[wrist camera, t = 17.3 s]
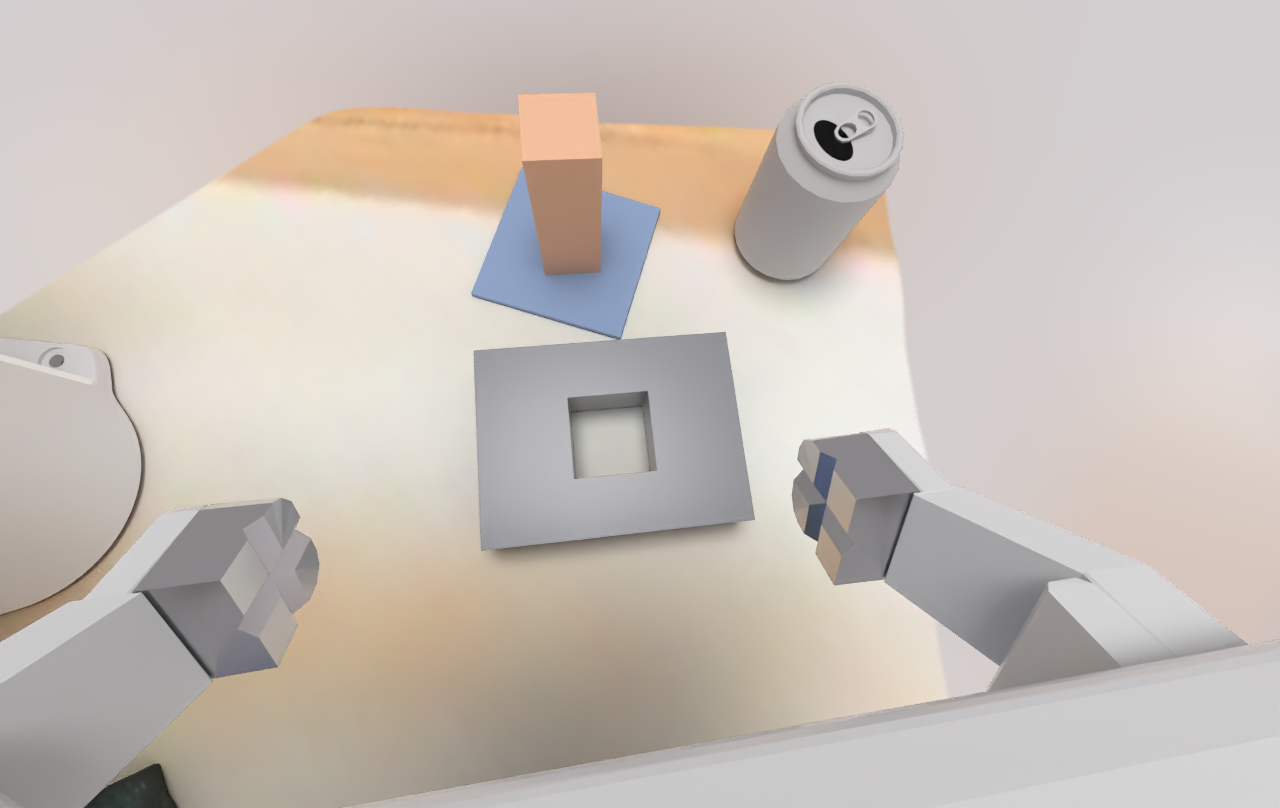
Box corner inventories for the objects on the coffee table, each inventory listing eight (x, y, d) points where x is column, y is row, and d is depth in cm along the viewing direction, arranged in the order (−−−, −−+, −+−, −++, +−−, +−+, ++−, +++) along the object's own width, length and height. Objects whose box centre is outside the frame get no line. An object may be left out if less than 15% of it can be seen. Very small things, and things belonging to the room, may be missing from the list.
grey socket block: (494, 548, 33) (481, 550, 29) (486, 370, 36) (473, 350, 32) (737, 521, 35) (754, 519, 31) (712, 352, 38) (725, 331, 34)
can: (712, 224, 40) (759, 100, 29) (788, 184, 42) (863, 50, 30) (768, 302, 39) (840, 205, 27) (844, 257, 40) (944, 147, 29)
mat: (472, 295, 37) (471, 293, 37) (522, 170, 40) (522, 167, 40) (619, 339, 37) (620, 337, 37) (659, 211, 40) (660, 208, 40)
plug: (545, 275, 38) (522, 161, 26) (541, 226, 38) (517, 94, 27) (600, 272, 38) (602, 158, 26) (595, 223, 39) (595, 92, 27)
